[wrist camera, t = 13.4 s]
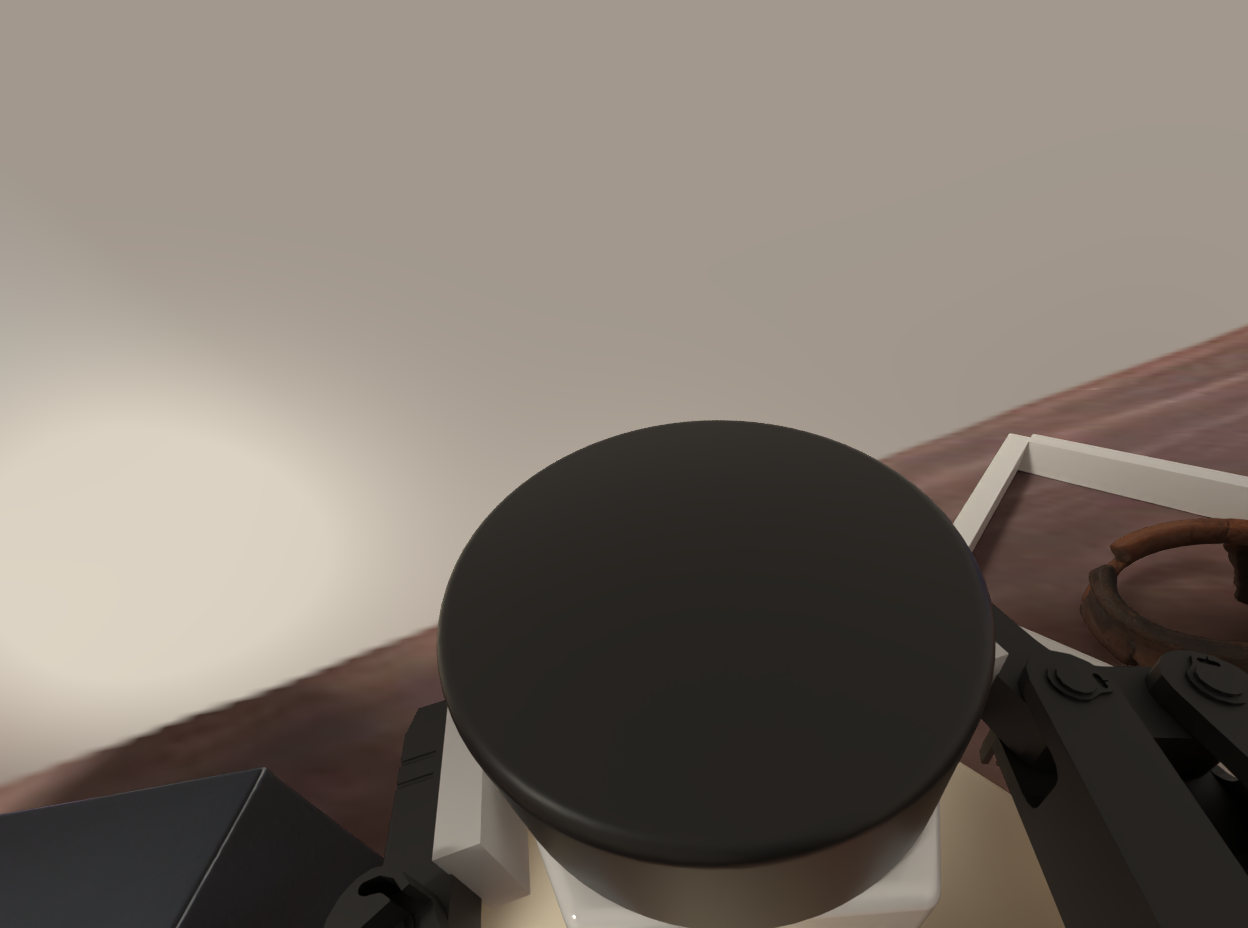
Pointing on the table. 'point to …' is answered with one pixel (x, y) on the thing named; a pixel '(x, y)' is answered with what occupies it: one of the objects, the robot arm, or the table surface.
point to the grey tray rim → (1101, 488)
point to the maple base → (970, 868)
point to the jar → (722, 677)
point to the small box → (179, 858)
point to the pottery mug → (1139, 636)
